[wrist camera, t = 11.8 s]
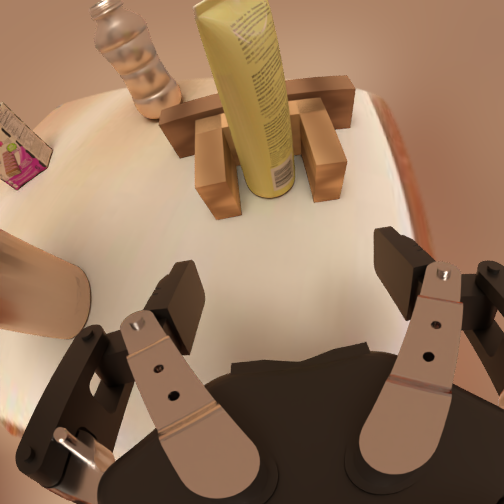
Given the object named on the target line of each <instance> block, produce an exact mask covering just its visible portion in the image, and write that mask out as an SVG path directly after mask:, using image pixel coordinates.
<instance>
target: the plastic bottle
mask: <svg viewBox="0 0 504 504" xmlns="http://www.w3.org/2000/svg"><path fill="white" fill-rule="evenodd" d="M122 5H123V1H121V0H102V1H100V2H98V3H97V4H95V5H94V6H92V7H91V8H89V10H88V11H89V13H90V15H91V17H92V20H93V21H95V20H96V22H97V26H96V30H95V37H94V42H95V47H96V49H97V50H98V51H99V52H100V53H101V54H102V55H103V56H104V57H105V58H106V59H107V61H108V62H109V63H110V64H111V65H112V66H113V67H114V68H115V70H116V71H117V72H118V73H119V74H120V76H121V78H122V79H123V80H124V82H125V84H126V86H127V88H128V90H129V92H130V94H131V95H132V99H133V102H134V104H135V106H136V108H137V110H138V111H139V112H140V113H141V114H142V115H143V116H144V117H146V118H150V119H159V118H160V114H161V110H163V109H166V108H169V107H172V106H175V105H178V104H180V102H181V98H182V95H181V91H180V87H179V85H178V84H177V83H176V81H175V80H174V79H173V78H172V77H171V76H170V74H169V73H168V71H167V70H166V69H165V67H164V65H163V64H162V62H161V61H160V59H159V57H158V54H157V53H156V50H155V47H154V45H153V43H152V40H151V36H150V33H149V30H148V27H147V23H146V21H145V19H144V18H143V17H142V16H141V15H139V14H137V13H135V12H133V11H130V10H128V9H125V8H123V7H122Z"/></svg>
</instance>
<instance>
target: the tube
mask: <svg viewBox="0 0 504 504" xmlns="http://www.w3.org/2000/svg"><path fill="white" fill-rule="evenodd" d="M193 11H194V15H195V20H196V23H197V27H198V30H199V33H200V37H201V40H202V43H203V46H204V49H205V52H206V56H207V59H208V62H209V65H210V68H211V71H212V74H213V78H214V81H215V84H216V87H217V91H218V94H219V97H220V100H221V104H222V107H223V110H224V113H225V116H226V119H227V123H228V126H229V129H230V132H231V136H232V139H233V142H234V145H235V148H236V152H237V155H238V158H239V161H240V164H241V168H242V171H243V174H244V177H245V180H246V183H247V186H248V187H249V189H250V190H251V191H252V192H253V193H254V194H256V195H258V196H261V197H266V198H272V197H277V196H280V195H282V194H284V193H286V192H287V191H288V190H289V189H290V188H291V187H292V185H293V183H294V180H295V165H294V152H293V140H292V130H291V121H290V112H289V105H288V97H287V90H286V84H285V78H284V72H283V66H282V61H281V55H280V50H279V45H278V40H277V35H276V31H275V26H274V22H273V17H272V13H271V10H270V6H269V3H268V0H203V1H202V2H200V3H198V4H196V5H195V6H194V7H193Z"/></svg>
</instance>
